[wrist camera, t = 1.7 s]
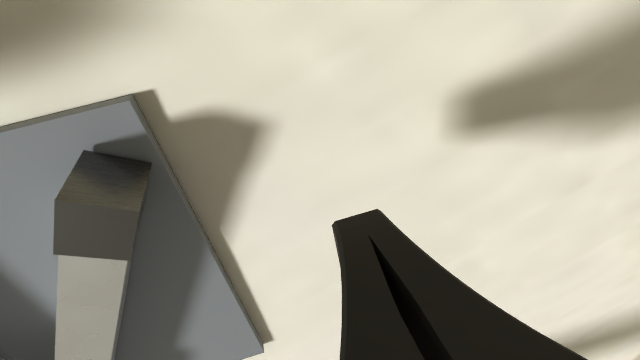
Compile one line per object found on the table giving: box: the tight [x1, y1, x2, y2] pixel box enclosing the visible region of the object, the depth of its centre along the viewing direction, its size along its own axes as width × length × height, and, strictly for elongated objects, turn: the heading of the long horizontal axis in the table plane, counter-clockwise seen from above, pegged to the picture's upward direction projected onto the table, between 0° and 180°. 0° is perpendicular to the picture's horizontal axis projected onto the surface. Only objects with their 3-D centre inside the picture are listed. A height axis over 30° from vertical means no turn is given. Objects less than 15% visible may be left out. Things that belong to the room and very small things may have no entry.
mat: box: [0, 94, 264, 360], centre depth 15 cm, size 16×12×1 cm
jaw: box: [53, 150, 152, 360], centre depth 14 cm, size 15×3×4 cm, turn 157°
